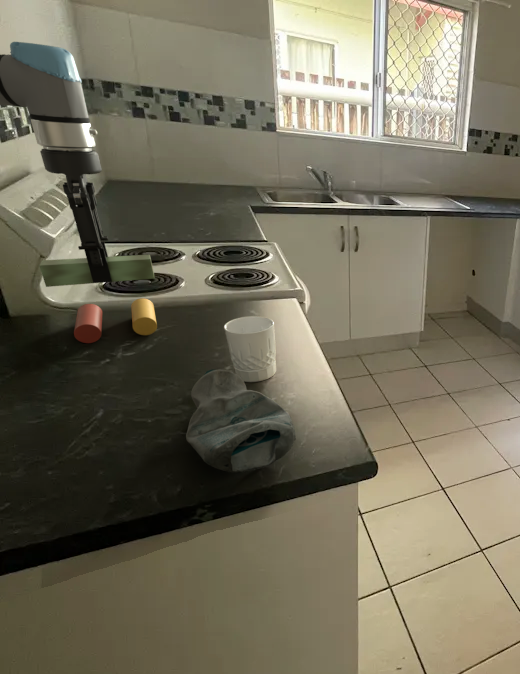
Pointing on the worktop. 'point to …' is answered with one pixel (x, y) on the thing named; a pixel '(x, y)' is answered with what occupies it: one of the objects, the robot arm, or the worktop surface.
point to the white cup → (252, 347)
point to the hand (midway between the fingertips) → (103, 278)
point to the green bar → (80, 273)
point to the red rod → (88, 323)
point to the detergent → (237, 424)
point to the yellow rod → (143, 317)
